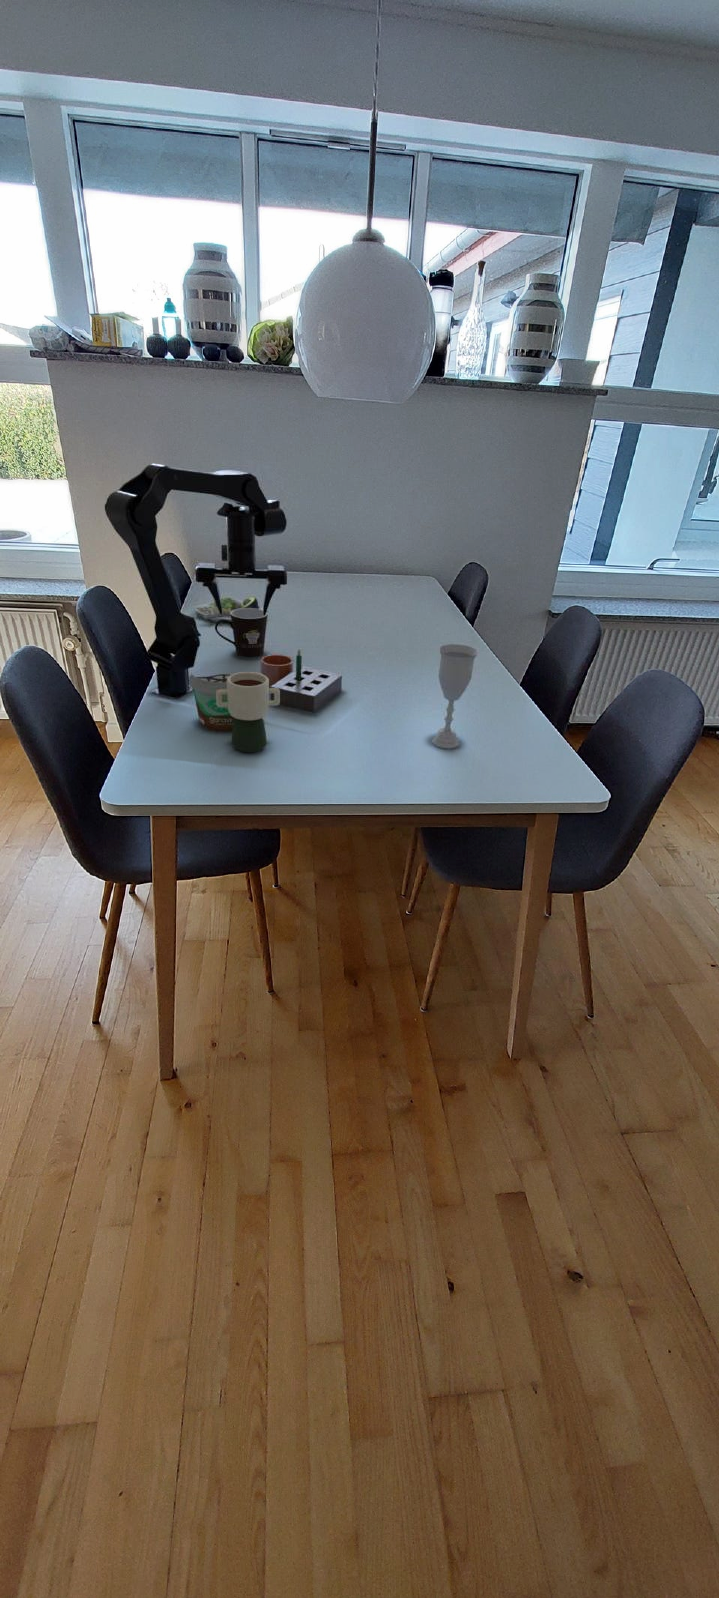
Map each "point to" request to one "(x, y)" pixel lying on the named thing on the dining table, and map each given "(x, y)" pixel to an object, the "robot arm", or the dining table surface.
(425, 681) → the dining table surface
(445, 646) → the chalice
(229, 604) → the salad plate
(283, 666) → the cup
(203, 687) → the food container
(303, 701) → the pen block
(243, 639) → the coffee mug
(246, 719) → the character mug
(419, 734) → the dining table surface
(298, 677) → the pencil
